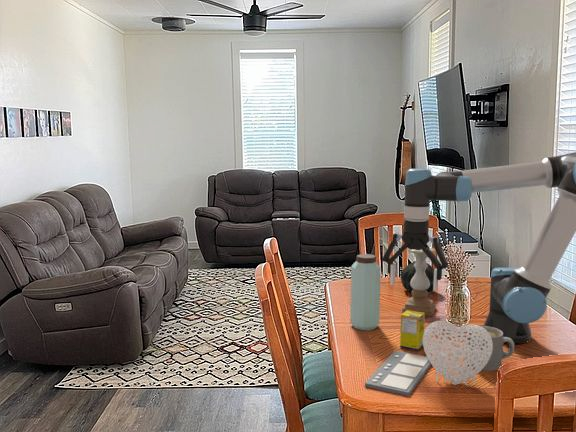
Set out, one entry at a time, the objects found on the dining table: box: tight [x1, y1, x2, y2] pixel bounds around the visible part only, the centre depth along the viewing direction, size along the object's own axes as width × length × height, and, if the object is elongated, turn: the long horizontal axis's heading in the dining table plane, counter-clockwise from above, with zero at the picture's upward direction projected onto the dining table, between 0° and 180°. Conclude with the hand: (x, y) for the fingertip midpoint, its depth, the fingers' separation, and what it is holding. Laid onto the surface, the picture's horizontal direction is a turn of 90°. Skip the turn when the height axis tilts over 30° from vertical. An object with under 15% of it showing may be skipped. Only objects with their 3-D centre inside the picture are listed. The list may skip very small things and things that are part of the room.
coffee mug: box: [466, 325, 515, 372], centre depth 171 cm, size 13×10×10 cm
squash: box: [400, 260, 435, 294], centre depth 245 cm, size 14×15×15 cm
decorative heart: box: [423, 320, 493, 386], centre depth 157 cm, size 18×11×17 cm, turn 69°
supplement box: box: [399, 310, 426, 352], centre depth 184 cm, size 6×6×11 cm
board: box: [364, 350, 432, 397], centre depth 165 cm, size 12×26×1 cm, turn 152°
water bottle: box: [349, 253, 382, 331], centre depth 202 cm, size 10×10×25 cm
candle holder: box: [401, 246, 437, 317], centre depth 219 cm, size 11×11×24 cm
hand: (413, 287), depth 182 cm, fingers open, 13 cm apart
